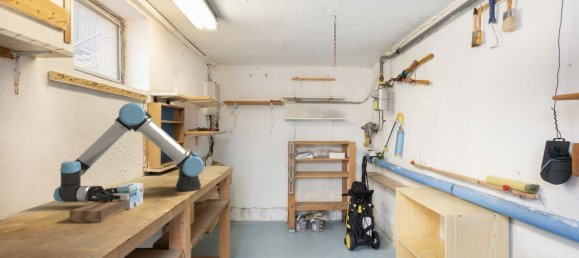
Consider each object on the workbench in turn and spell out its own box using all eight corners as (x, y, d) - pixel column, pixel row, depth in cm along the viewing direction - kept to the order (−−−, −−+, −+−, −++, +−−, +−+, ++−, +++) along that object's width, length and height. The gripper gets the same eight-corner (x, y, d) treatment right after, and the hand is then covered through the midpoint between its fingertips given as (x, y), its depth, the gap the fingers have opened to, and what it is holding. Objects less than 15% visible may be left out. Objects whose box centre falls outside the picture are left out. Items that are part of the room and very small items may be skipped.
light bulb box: (130, 209, 123) (130, 186, 123) (116, 209, 123) (116, 186, 123) (143, 203, 134) (143, 182, 134) (130, 203, 134) (130, 182, 134)
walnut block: (124, 211, 121) (125, 201, 121) (100, 223, 106) (101, 211, 106) (97, 211, 121) (97, 200, 121) (69, 222, 106) (69, 210, 106)
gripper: (107, 195, 140) (148, 194, 141) (71, 209, 115) (120, 208, 116) (107, 181, 140) (148, 180, 141) (71, 192, 115) (120, 191, 116)
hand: (136, 193), depth 129 cm, fingers open, 13 cm apart
